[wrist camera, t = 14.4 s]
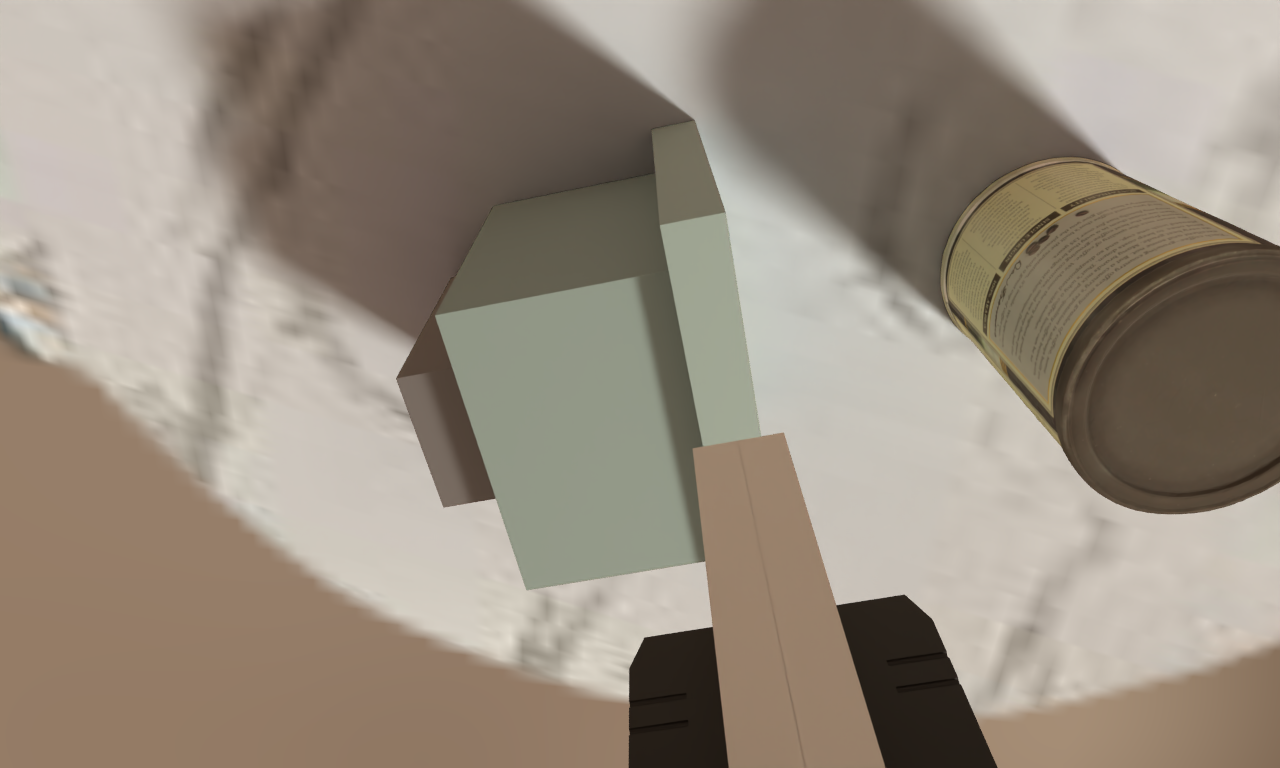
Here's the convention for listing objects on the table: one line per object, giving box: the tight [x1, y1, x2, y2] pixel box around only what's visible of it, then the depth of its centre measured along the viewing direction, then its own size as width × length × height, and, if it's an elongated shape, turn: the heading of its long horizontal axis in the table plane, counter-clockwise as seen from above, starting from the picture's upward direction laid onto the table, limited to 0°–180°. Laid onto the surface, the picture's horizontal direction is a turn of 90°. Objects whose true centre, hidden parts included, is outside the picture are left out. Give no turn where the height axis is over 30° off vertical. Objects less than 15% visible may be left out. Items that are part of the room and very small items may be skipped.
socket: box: [435, 120, 761, 590], centre depth 37 cm, size 10×16×15 cm, turn 11°
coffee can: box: [941, 157, 1280, 514], centre depth 36 cm, size 10×10×14 cm
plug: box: [396, 277, 496, 507], centre depth 38 cm, size 10×6×11 cm, turn 101°
